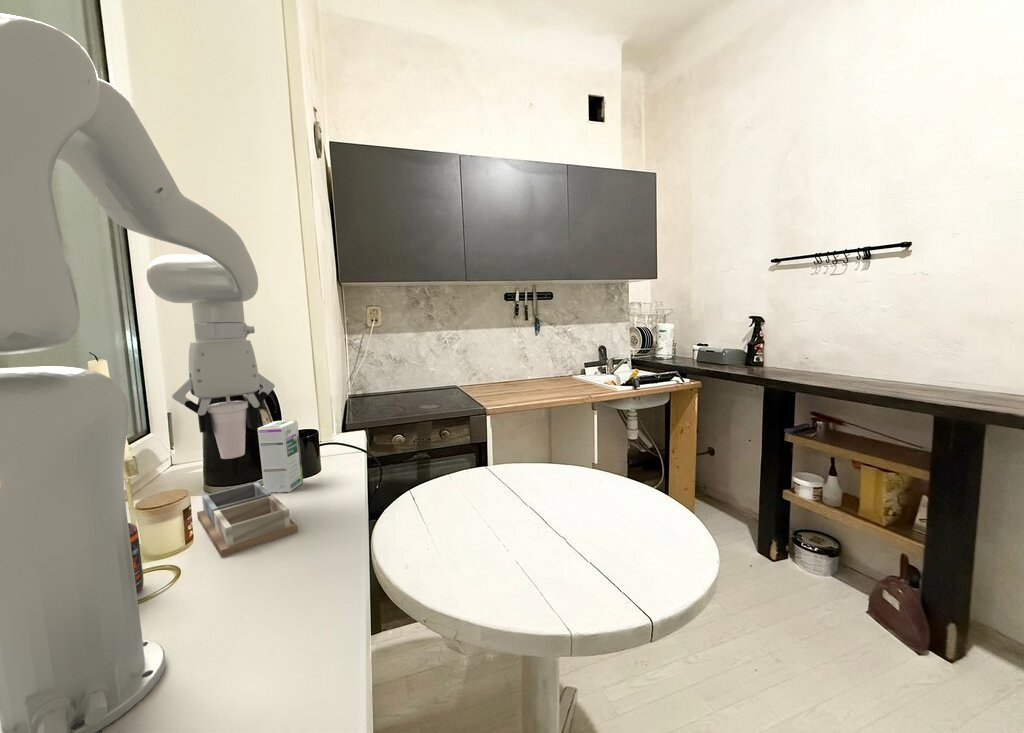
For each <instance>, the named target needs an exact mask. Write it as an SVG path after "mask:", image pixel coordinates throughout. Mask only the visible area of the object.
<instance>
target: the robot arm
mask: <svg viewBox="0 0 1024 733" xmlns="http://www.w3.org/2000/svg"><path fill="white" fill-rule="evenodd" d="M98 76H99V75H98V73H97V70H96V67H95V64H94V62H93V61H92V59H91V56H90V55H89V53H88V52H87V50H85V48H84V47H83V46H82V45H81V44H80V43H79V42H78V41H77V40H76V39H74V38H73V37H72V36H71V35H69V34H68V33H66V32H65V31H62V30H60V29H58V28H56V27H54V26H51V25H49V24H46V23H44V22H42V21H38V20H35V19H31V18H28V17H22V16H17V15H12V14H6V13H0V356H1V355H2V356H4V355H5V356H6V355H18V354H19V355H20V354H26V353H27V354H28V353H29V354H30V353H37V352H42V351H43V352H44V351H47V350H52V349H56V348H58V347H61V346H63V345H64V344H67V343H68V342H70V341H71V340H72V339H73V338H74V337H75V335H76V334H77V332H78V330H79V328H80V322H81V311H80V306H79V305H80V304H79V300H78V299H79V298H78V296H77V290H76V286H75V281H74V278H73V277H74V276H73V274H72V269H71V265H70V261H69V257H68V254H67V249H66V246H65V241H64V238H63V234H62V231H61V230H62V229H61V226H60V221H59V218H58V214H57V209H56V205H55V204H56V203H55V199H54V194H53V173H54V169H55V165H56V161H57V160H59V161H62V162H65V163H66V164H67V165H69V167H70V168H71V169H72V170H73V171H74V173H75V175H77V177H78V179H80V181H81V182H82V183H83V184H84V185H85V187H86V188H87V190H88V191H89V192H90V193H91V194H92V196H93V197H94V199H96V201H97V203H98V204H99V205H100V206H101V208H102V209H103V211H105V213H106V214H107V215H108V217H109V218H110V219H111V220H112V221H113V222H114V223H115V224H117V225H118V226H120V227H123V228H124V229H127V230H128V231H131V232H134V233H136V234H137V233H138V234H139V235H143V236H144V237H145V236H146V237H147V238H148V237H149V238H152V239H155V240H159V241H161V242H165V243H169V244H173V245H176V246H179V247H183V248H186V249H190V250H192V251H196V252H197V253H200V254H166V255H162V256H159V257H156V258H154V259H153V260H152V261H151V262H150V263H149V265H148V267H147V269H146V281H147V284H148V286H149V288H150V290H151V291H152V292H153V293H154V294H155V295H156V296H157V297H159V298H161V299H162V300H164V301H167V302H169V303H173V304H191V307H192V318H193V326H194V337H195V341H193V342H189V347H188V348H189V349H188V379H187V380H186V381H185V382H184V383H183V384H182V385H181V386H180V387H179V388H178V389H177V390H176V391H175V392H174V393H172V395H171V398H172V399H173V400H175V401H176V402H178V403H179V404H181V405H183V406H184V407H186V408H188V409H189V410H190V411H192V412H194V413H195V414H197V420H198V428H199V432H200V433H201V434H202V433H203V436H205V437H206V438H211V437H212V436H213V428H212V423H211V419H210V415H209V413H208V411H207V409H208V406H209V405H211V401H212V399H218V398H226V397H228V396H229V397H235V396H243V398H244V399H245V401H247V402H248V406H249V407H248V408H246V425H247V427H248V428H249V429H251V430H256V429H257V424H259V423H260V422H259V421H260V420H259V410H258V408H259V407H260V405H261V404H262V403H263V401H264V400H266V398H267V396H268V395H269V394H270V393H271V392H272V391H273V390H274V388H275V387H276V386H275V384H274V383H273V382H272V381H270V380H269V379H267V378H266V377H264V376H263V375H262V374H261V373H259V368H258V363H257V360H256V354H255V351H254V347H253V344H252V342H251V340H250V339H248V340H247V338H248V336H249V335H251V334H255V326H254V325H253V326H251V325H247V323H246V322H245V312H244V311H245V309H244V302H248V301H250V300H251V299H253V298H254V297H255V295H256V294H257V292H258V290H259V278H258V273H257V270H256V266H255V264H254V262H253V259H252V257H251V256H250V253H249V251H248V249H247V247H246V245H245V242H244V241H243V240H242V238H241V236H240V235H239V234H238V232H236V231H235V229H234V228H232V226H230V225H229V224H228V223H226V222H225V221H224V220H222V219H221V218H219V216H217V215H215V214H214V213H213V212H211V211H210V210H208V209H206V208H205V207H204V206H202V205H200V204H198V203H197V202H195V201H193V200H191V199H190V198H188V197H187V196H185V195H184V194H183V193H182V192H181V191H180V189H179V187H178V185H177V183H176V181H175V180H174V178H173V176H172V174H171V173H170V171H169V169H168V167H167V166H166V163H165V161H164V160H163V158H162V156H161V155H160V153H159V151H158V149H157V148H156V146H155V144H154V142H153V141H152V139H151V137H150V135H149V133H148V131H147V130H146V128H145V126H144V124H143V123H142V121H141V119H140V118H139V115H138V114H137V112H136V110H135V109H134V107H133V106H132V104H131V103H130V101H129V100H128V98H127V97H126V96H125V95H124V94H123V93H122V92H121V91H120V90H119V89H118V88H116V87H115V86H113V85H112V84H111V83H109V82H107V81H105V80H103V79H100V78H99V77H98ZM260 385H261V386H262V388H261V389H260ZM259 389H260V391H259ZM258 391H259V392H258ZM189 392H190V394H191V395H192V396H195V397H196V398H197V399H198V401H197V403H195V402H194V401H193V400H192V399H189V398H188V397H187V396H186V395H187V394H188V393H189ZM256 392H258V393H256ZM254 393H256V395H255V394H254ZM129 415H130V414H129V404H128V400H127V397H126V393H125V392H124V391H123V389H122V388H121V386H120V385H119V383H117V382H116V381H115V380H113V379H111V377H109V376H107V375H105V374H102V373H100V372H97V371H95V370H90V369H86V368H82V367H72V366H60V365H59V366H57V365H54V366H53V365H50V366H49V365H48V366H47V365H45V366H21V367H17V366H16V367H0V733H97V732H99V731H100V730H102V729H103V728H105V727H107V726H108V725H110V724H112V723H113V722H115V721H116V720H117V719H119V718H120V717H121V716H123V715H124V714H126V713H127V712H128V711H130V710H131V709H132V708H134V706H136V705H137V704H138V703H139V702H140V701H141V700H142V699H144V697H145V696H146V695H147V694H148V693H149V692H150V691H151V690H152V689H153V688H154V687H155V685H156V683H157V682H158V681H159V680H160V678H161V677H162V674H163V672H164V670H165V666H166V655H165V650H164V648H163V647H162V645H161V644H160V643H158V642H156V641H153V640H149V639H143V632H142V625H141V617H140V608H139V600H138V594H137V591H136V583H135V575H134V567H133V559H132V551H131V542H130V534H129V526H128V523H129V522H128V513H127V504H126V494H125V493H126V492H125V491H126V490H125V476H124V474H125V472H124V470H125V469H124V468H125V451H126V444H127V443H126V441H127V436H128V435H127V434H128V428H129Z"/></svg>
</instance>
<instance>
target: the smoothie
mask: <svg viewBox="0 0 1024 733" xmlns="http://www.w3.org/2000/svg"><path fill="white" fill-rule="evenodd" d="M230 397H231V396H228V397H225V400H226V401H223V402H222V401H221V402H217V403H212V404H211V403H210V404H209V406H208V409H207V411H208V414H209V415H210V419H211V427H212V431H213V433H214V437H215V440H216V444H217V448H218V451H219V454H220V459H222V460H228V459H229V460H230V459H236V458H239V457H242V456H244V455H245V453H246V433H247V432H246V431H247V430H246V429H247V426H246V425H247V415H246V408H248V407H249V406H248V402H247V401H246V400H231V398H230Z"/></svg>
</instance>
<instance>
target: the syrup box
mask: <svg viewBox="0 0 1024 733" xmlns="http://www.w3.org/2000/svg"><path fill="white" fill-rule="evenodd" d="M298 425H299V424H298V421H297V420H287V419H286V420H276V421H272V422H269V423H268V424H265V425H263V426H260V427H258V428H257V436H258V446H259V447H258V448H259V455H260V463H261V464H260V465H261V472H262V484H263V485H262V486H263V487H264V488H265V489H266V490H267V491H268V492H290V493H291V492H292V491H294V489H296V488H297V487H299V486H300V485H302V484H303V483H304V475H303V467H302V454H301V445H300V435H299V426H298Z"/></svg>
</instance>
